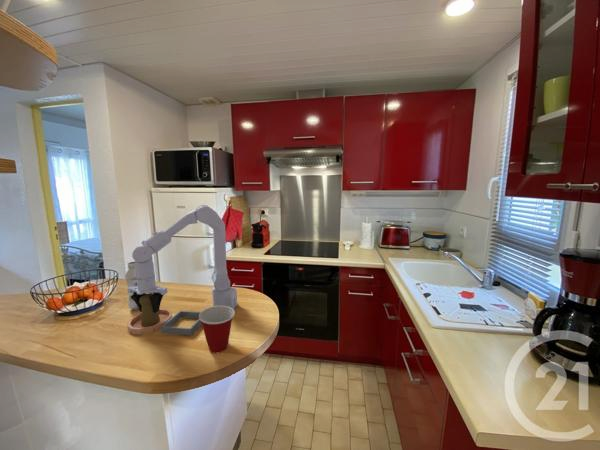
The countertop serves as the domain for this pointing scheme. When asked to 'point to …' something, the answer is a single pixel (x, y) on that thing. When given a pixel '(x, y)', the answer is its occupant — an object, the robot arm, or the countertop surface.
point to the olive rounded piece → (148, 312)
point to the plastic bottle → (131, 284)
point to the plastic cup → (217, 326)
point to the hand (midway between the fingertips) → (149, 311)
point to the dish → (136, 327)
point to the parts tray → (179, 330)
